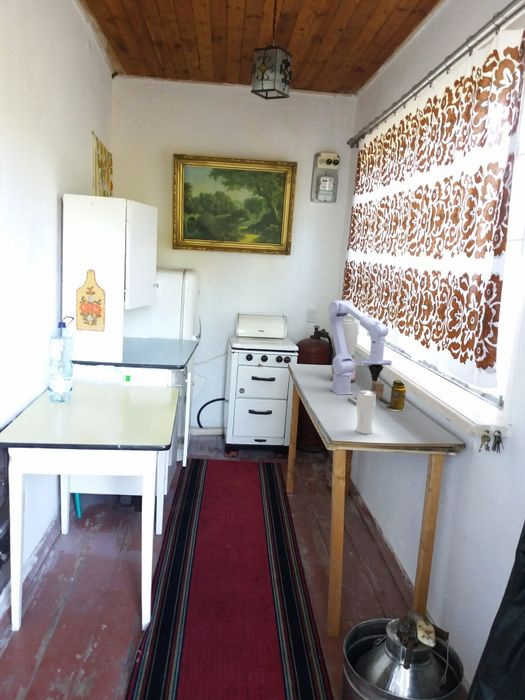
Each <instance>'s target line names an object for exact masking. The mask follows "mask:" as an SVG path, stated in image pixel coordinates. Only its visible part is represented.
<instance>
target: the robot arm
mask: <svg viewBox="0 0 525 700" xmlns="http://www.w3.org/2000/svg"><path fill="white" fill-rule="evenodd" d="M327 308H328V314H329V318H328V319H329V324H330V330H331V337H332V336H333V341H334V346H333V347H334V350H335V355H336V357H335V356H334V357H335V358H334V357H333V359H332V363H333V371H334V372H335V374H334V376H333V380H332V385H331V386H332V387H331V388H330V391H332V392H334V394H336V395H338V396H339V395H340V396H342V395H354V392H352V391H351V386H352V385H351V382H352V381H351V375H352V372H354V370H355V363H354V361H353V359H352V356H350V355H349V354H348V352H347V347H346V342H345V337H344V332H343V327H342V320H343V319H344V318H345V317H346V316H347V315H350V316H352V317H353V318H354V319H355V320H358V321H359V325H360V326H361V327H362V328H364V329H365V330H366V331H367V332H368V333H369V336H370V353H369V359H365V360H360V361H359V365H360V366H362V367H364V366H367V367H368V369H369V372H370V375H371V381H372V382H378V378H379V377H380V374H381V372H382V371H383V369H384V366H392V363H393V362H392V360H388V359H384V352H385V341H386V340H385V339H386V336H387V335H388V333H389V328H388V326H387V324H385V323H380V321H379V320H376V319H375V318H374V317H373V315H371V314H364V313H363V312H362V311H361V310H360V309H358V308H357V307H356V306H355V305H354V303H353V302H352V301H350V300H348V299H344V300H342V299H341V300H336V299H335V300H332V301H330V303H329V304H328V307H327ZM341 360H344V361H341ZM355 371H356V370H355Z"/></svg>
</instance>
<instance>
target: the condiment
mask: <svg viewBox="0 0 525 700" xmlns="http://www.w3.org/2000/svg"><path fill="white" fill-rule="evenodd" d="M401 381H402V380H399V379H398V380H397V379H396V380H393V381H392V386H391V390H390V391H391V392H390V401H389V402H390V404H389V405H383V406H382V407H383V408H385V409H387V410H389V411H392V412H399V411H404V410H405V411H406V410H407V409H405V408H406V407H405V404H406V403H405V400H406V392H407V389H406V385H405V386H404V384H403V383H402V382H401Z"/></svg>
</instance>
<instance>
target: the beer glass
mask: <svg viewBox="0 0 525 700" xmlns="http://www.w3.org/2000/svg"><path fill="white" fill-rule="evenodd" d="M376 405H377V399H376V393H375V392H372V391H371V390H358V391H357V406H356V416H357V418H356V419H357V423H356V427H355V432H356V433H358V434H363V435H371V434H372V433H373V427H372V423H373V418H374V415H375V412H376V407H377V406H376Z"/></svg>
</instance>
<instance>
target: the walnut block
mask: <svg viewBox="0 0 525 700" xmlns="http://www.w3.org/2000/svg"><path fill="white" fill-rule="evenodd" d="M384 387H385V384H384V383H383V382H381V381H377V382H374V381H372V382H371V390H370V391H372V392H375V393H376V400H377V399H378V400H380V399H379V397H382V398H384Z"/></svg>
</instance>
